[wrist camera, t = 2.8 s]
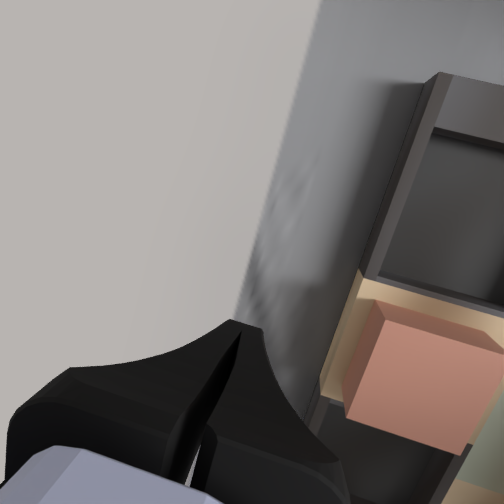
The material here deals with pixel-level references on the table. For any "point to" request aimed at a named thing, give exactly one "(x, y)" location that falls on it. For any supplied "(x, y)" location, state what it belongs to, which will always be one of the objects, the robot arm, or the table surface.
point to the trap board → (429, 294)
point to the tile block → (421, 377)
